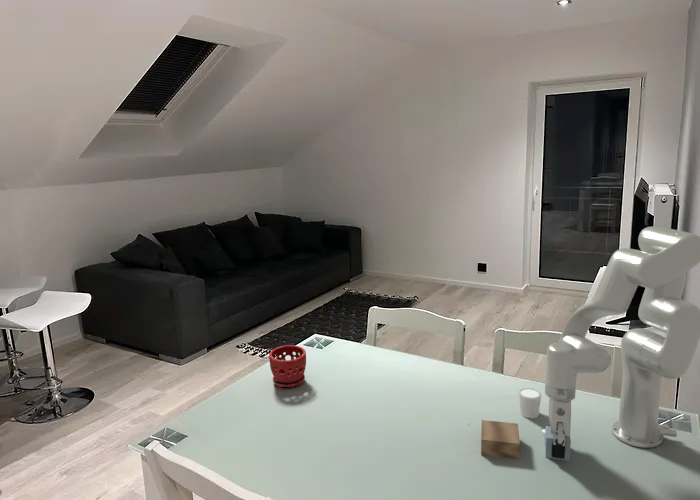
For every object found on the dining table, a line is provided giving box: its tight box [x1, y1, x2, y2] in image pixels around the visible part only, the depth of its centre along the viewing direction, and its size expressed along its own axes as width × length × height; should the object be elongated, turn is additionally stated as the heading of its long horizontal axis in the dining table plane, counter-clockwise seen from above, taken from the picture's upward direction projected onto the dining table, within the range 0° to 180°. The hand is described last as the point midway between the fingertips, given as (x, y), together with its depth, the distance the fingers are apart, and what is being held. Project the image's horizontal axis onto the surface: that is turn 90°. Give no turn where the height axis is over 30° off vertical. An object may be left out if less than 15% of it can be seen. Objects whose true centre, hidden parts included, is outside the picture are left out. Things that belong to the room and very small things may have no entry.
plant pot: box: [268, 344, 307, 388], centre depth 186 cm, size 13×13×12 cm
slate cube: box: [544, 425, 572, 462], centre depth 141 cm, size 6×6×6 cm
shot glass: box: [517, 387, 542, 419], centre depth 161 cm, size 7×7×7 cm
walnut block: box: [480, 419, 521, 460], centre depth 145 cm, size 10×10×5 cm
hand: (556, 446), depth 141 cm, fingers open, 9 cm apart
